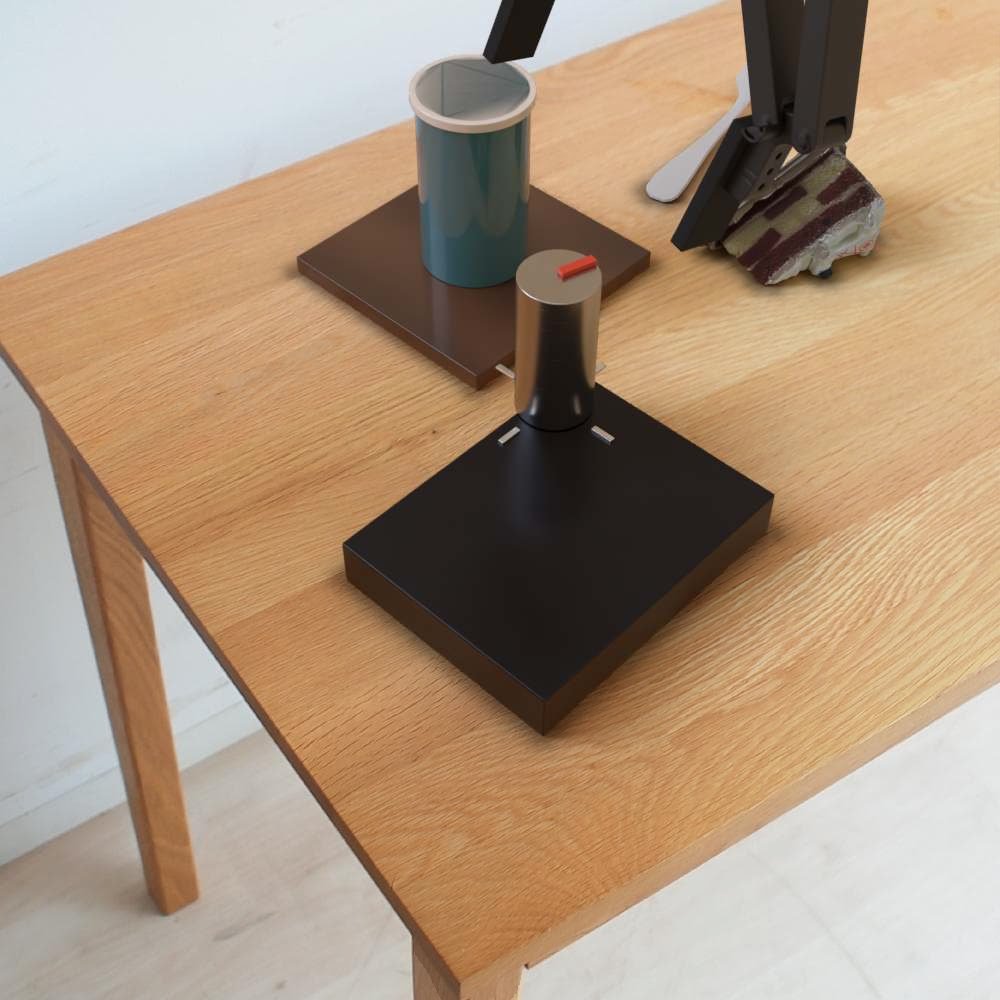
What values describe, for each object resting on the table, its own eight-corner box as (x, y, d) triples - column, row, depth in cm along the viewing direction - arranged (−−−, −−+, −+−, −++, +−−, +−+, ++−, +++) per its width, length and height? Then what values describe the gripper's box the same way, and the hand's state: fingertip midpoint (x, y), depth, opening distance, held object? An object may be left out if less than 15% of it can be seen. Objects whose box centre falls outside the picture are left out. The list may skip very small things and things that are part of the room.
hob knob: (541, 441, 78) (545, 310, 71) (499, 393, 81) (499, 261, 74) (608, 412, 80) (619, 280, 73) (565, 365, 82) (571, 234, 75)
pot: (475, 307, 88) (473, 140, 79) (392, 255, 92) (381, 89, 83) (556, 252, 92) (563, 87, 83) (473, 204, 95) (471, 39, 86)
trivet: (476, 390, 85) (476, 376, 84) (297, 271, 93) (295, 256, 92) (649, 266, 93) (651, 251, 92) (472, 165, 100) (471, 150, 99)
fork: (637, 219, 100) (638, 188, 98) (774, 55, 110) (778, 24, 108) (673, 233, 99) (675, 202, 97) (808, 66, 109) (812, 35, 107)
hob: (542, 737, 69) (544, 700, 67) (304, 546, 77) (297, 507, 75) (782, 518, 79) (791, 478, 76) (547, 368, 87) (548, 328, 84)
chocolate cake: (756, 321, 90) (906, 182, 86) (687, 240, 92) (831, 101, 88) (799, 337, 98) (937, 212, 94) (735, 262, 101) (868, 137, 96)
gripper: (1134, -153, 49) (835, 305, 64) (657, -492, 58) (494, -21, 73) (1019, -142, 44) (726, 348, 59) (521, -512, 53) (377, -5, 68)
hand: (598, 145), depth 66 cm, fingers open, 13 cm apart
